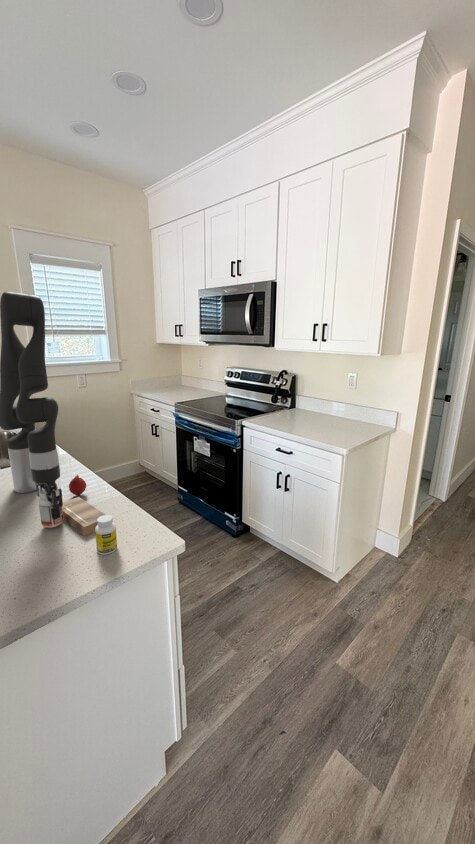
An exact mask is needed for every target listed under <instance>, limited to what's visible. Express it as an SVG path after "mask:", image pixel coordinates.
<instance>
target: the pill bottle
mask: <svg viewBox="0 0 475 844" xmlns="http://www.w3.org/2000/svg"><path fill="white" fill-rule="evenodd" d="M48 496H49V495H48ZM38 498H39V500H38V502H37V503H38V508H39V509H38V510H39V516H40V521H41V525H42V527H43V528H45V529H46V528H47V529H50V528H51V529H52V528H56V527H58V526H60V525H62V523H63V522H64V519H63V512H62V506H61V507H59V509H60V517H59V518H57V519H52V515H51V508H50V504H49V502H47V501H46V496H45V494H44V493H43V491H39V497H38ZM49 498H52V495H51V496H49Z"/></svg>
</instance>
